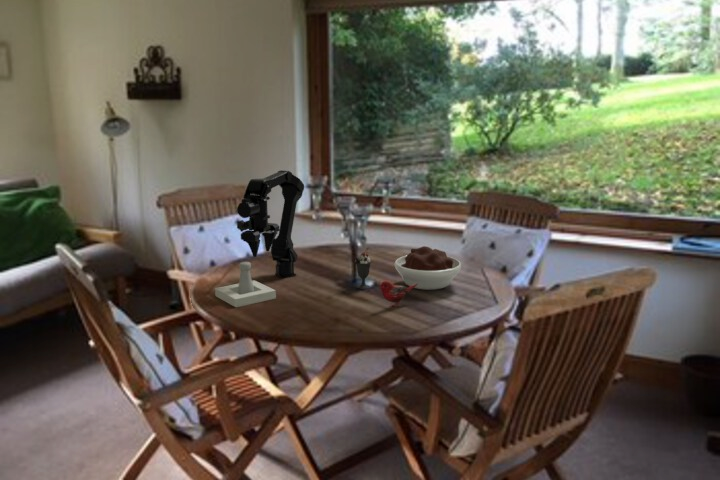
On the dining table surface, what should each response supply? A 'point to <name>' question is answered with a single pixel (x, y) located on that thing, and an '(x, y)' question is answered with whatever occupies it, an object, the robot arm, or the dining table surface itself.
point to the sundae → (363, 268)
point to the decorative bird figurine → (394, 292)
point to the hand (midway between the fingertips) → (261, 253)
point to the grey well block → (236, 300)
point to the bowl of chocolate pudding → (427, 268)
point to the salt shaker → (245, 279)
